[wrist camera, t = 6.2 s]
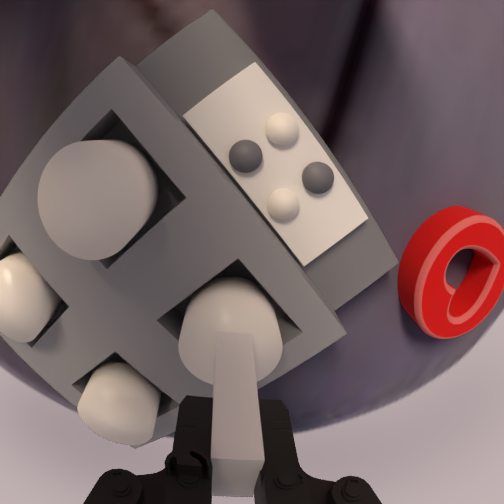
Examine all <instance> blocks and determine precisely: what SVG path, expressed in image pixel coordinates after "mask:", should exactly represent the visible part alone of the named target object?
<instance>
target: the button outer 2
mask: <svg viewBox="0 0 504 504" xmlns="http://www.w3.org/2000/svg"><path fill="white" fill-rule="evenodd" d="M217 331H219V332H231V333H244V334H252V343H253V353H254V363H255V372H256V382H258V381H260V380H261V379H263V378H265V377H266V376H267V375H269V374H270V373H271V372H272V371H273V370H274V369H275V367H276V366H277V364H278V363H279V361H280V358H281V355H282V349H283V345H282V338H281V334H280V330H279V326H278V322H277V318H276V313H275V309H274V305H273V303H272V300H271V298H270V296H269V295H268V294H267V292H266V291H265V290H264V289H263V288H262V287H260V286H259V285H258V284H256V283H254V282H252V281H250V280H247V279H244V278H240V277H229V276H228V277H220V278H216V279H213V280H210V281H208V282H206V283H205V284H204V285H202V286H201V287H200V288H198V289H197V290H196V291H195V292H194V293H193V294H192V296H191V297H190V299H189V301H188V304H187V308H186V312H185V316H184V320H183V324H182V329H181V333H180V337H179V343H178V349H179V354H180V358H181V360H182V362H183V364H184V365H185V367H186V368H187V369H188V370H189V371H190V372H191V373H192V374H193V375H194V376H196V377H197V378H199V379H200V380H202V381H204V382H206V383H209V384H212V385H213V381H214V367H215V354H216V342H217Z"/></svg>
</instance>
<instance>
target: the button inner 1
mask: <svg viewBox="0 0 504 504" xmlns="http://www.w3.org/2000/svg"><path fill="white" fill-rule="evenodd" d="M61 302H62V298H61V297H60V296H59V295H58V294H57V293H56V292H55V290H54V289H53V288H52V287H51V286H50V285H49V284H48V283H47V281H46V280H45V279H44V278H43V277H42V276H41V274H40V273H39V272H38V271H37V270H36V268H35V267H34V266H33V265H32V264H31V262H30V261H29V260H28V259H27V257H26V256H25V255H24V254H23V252H22V251H21V250H20V249H18V250H16V251H14V252H13V253H11V254H10V255H8V256H7V257H5V258H4V259H2V260H1V261H0V332H1V333H2V334H4V335H5V336H6V337H8V338H10V339H12V340H14V341H17V342H21V343H26V342H30V341H32V340H34V339H35V338H36V336H37V335H38V334H39V333H40V331H41V330H42V329H43V328H44V326H45V325H46V324H47V323H48V322H49V320H50V319H51V318H52V317H53V316H54V314H55V313H56V312H57V311H58V310H59V308H60V305H61Z"/></svg>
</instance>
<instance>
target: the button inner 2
mask: <svg viewBox="0 0 504 504" xmlns="http://www.w3.org/2000/svg"><path fill="white" fill-rule="evenodd" d="M158 194H159V184H158V178H157V174H156V171H155V168H154V166H153V164H152V162H151V161H150V159H149V158H148V156H147V155H146V154H145V153H144V152H143V151H142V150H141V149H139V148H138V147H137V146H135V145H133V144H132V143H129V142H127V141H123V140H116V139H110V140H91V141H79V142H75V143H72V144H70V145H67V146H65V147H64V148H62V149H61V150H59V151H58V152H57V153H56V154H55V155H54V156H53V157H52V158H51V159H50V161H49V162H48V163H47V165H46V167H45V169H44V170H43V173H42V175H41V178H40V182H39V186H38V199H37V200H38V209H39V214H40V218H41V221H42V223H43V226H44V228H45V230H46V232H47V233H48V235H49V236H50V238H51V239H52V240H53V241H54V243H55V244H56V245H57V246H58V247H60V248H61V249H62V250H63V251H65V252H66V253H68V254H70V255H72V256H74V257H77V258H80V259H84V260H100V259H104V258H107V257H110V256H112V255H114V254H116V253H117V252H119V251H120V250H121V249H122V248H124V246H125V245H126V244H127V243H128V242H129V241H130V240H131V239H132V238H133V237H134V236H135V235H136V234H137V232H138V231H139V230H140V229H141V228H142V227H143V226H144V225H145V224H146V223H147V222H148V221H149V219H150V218H151V216H152V214H153V212H154V210H155V208H156V205H157V201H158Z"/></svg>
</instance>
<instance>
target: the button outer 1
mask: <svg viewBox="0 0 504 504" xmlns="http://www.w3.org/2000/svg"><path fill="white" fill-rule="evenodd" d="M160 399H161V394H160V390H159V388H158V387H157V386H155V385H154V384H153V383H152V382H150V381H149V380H148V379H147V378H146V377H144V376H143V375H142V374H141V373H140V372H138V371H137V370H136V369H135V368H134V367H132V366H131V365H129V364H126V363H122V362H106V363H103V364H100V365H99V366H97V367H96V368H95V370H94V371H93V373H92V375H91V378H90V380H89V382H88V384H87V386H86V388H85V390H84V392H83V394H82V396H81V398H80V401H79V403H78V407H77V409H78V414H79V416H80V418H81V420H82V421H83V422H84V424H85V425H86V426H87V427H88V428H90V429H91V430H92V431H93V432H94V433H96V434H98V435H99V436H101V437H103V438H105V439H107V440H110V441H112V442H115V443H120V444H125V445H139V444H143V443H145V442H147V441H149V440H150V439H151V438H152V436H153V431H154V427H155V422H156V417H157V412H158V408H159V403H160Z"/></svg>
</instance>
